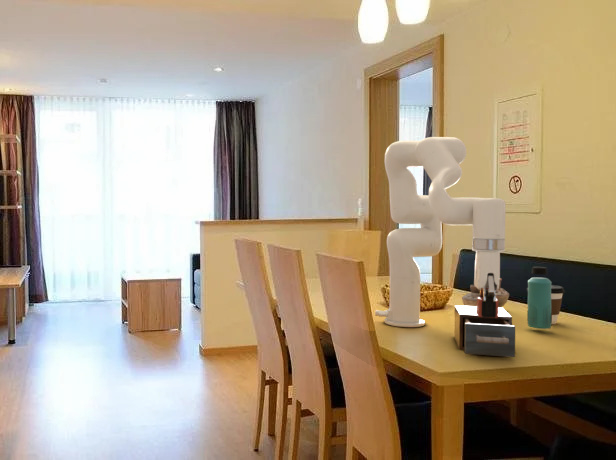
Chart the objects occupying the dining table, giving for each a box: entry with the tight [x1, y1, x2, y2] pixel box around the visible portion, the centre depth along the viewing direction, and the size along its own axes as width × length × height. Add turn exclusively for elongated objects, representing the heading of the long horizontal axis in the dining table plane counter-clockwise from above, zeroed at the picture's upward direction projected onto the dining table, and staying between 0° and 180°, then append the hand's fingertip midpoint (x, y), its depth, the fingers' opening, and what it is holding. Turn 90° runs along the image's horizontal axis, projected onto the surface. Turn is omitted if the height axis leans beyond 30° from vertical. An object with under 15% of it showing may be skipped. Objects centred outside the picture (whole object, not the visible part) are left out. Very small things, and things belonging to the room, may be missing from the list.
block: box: [477, 297, 498, 318], centre depth 150 cm, size 4×4×4 cm
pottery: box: [461, 277, 510, 308], centre depth 207 cm, size 11×25×12 cm, turn 135°
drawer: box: [463, 317, 516, 358], centre depth 150 cm, size 18×11×8 cm, turn 161°
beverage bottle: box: [526, 266, 553, 330], centre depth 177 cm, size 6×7×20 cm
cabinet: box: [453, 305, 513, 351], centre depth 161 cm, size 15×13×10 cm
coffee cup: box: [526, 284, 566, 325], centre depth 191 cm, size 11×11×12 cm
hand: (487, 314), depth 151 cm, fingers closed on block, 4 cm apart
